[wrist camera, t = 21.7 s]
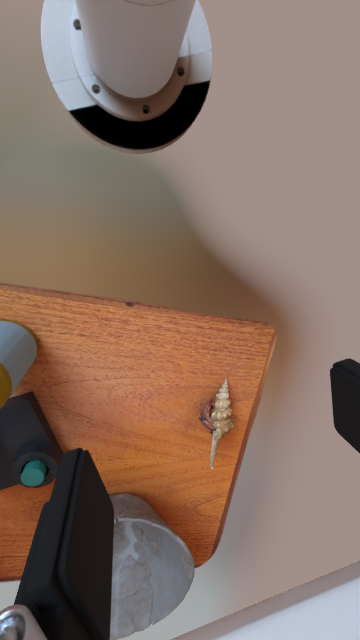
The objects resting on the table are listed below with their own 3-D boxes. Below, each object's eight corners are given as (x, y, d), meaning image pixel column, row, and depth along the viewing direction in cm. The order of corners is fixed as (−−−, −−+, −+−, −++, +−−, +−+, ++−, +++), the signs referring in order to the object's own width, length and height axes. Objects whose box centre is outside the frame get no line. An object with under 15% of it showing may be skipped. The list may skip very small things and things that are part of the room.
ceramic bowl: (121, 582, 52) (120, 659, 42) (9, 531, 44) (-22, 613, 35) (208, 503, 50) (228, 565, 41) (107, 435, 42) (103, 494, 33)
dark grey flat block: (-61, 419, 37) (-79, 438, 34) (35, 390, 38) (26, 405, 35) (-17, 488, 41) (-29, 510, 38) (69, 459, 42) (64, 479, 39)
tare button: (20, 464, 38) (16, 473, 36) (42, 457, 38) (38, 466, 36) (29, 479, 38) (25, 489, 37) (50, 472, 39) (47, 482, 37)
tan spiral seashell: (191, 381, 42) (197, 397, 38) (224, 374, 43) (234, 390, 39) (201, 453, 47) (208, 475, 42) (232, 446, 47) (241, 467, 43)
